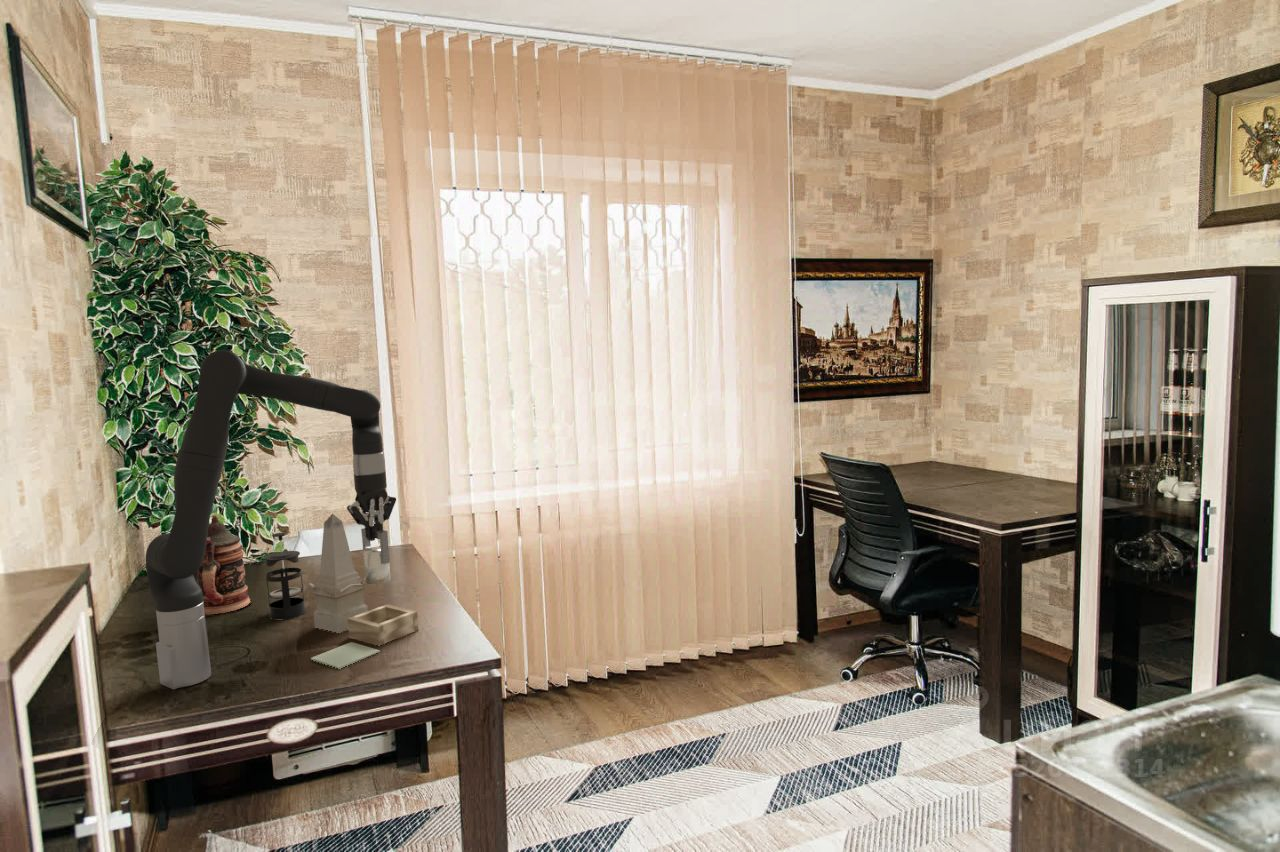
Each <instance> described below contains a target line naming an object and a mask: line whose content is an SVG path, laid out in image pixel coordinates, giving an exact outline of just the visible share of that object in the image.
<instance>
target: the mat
mask: <svg viewBox="0 0 1280 852" xmlns="http://www.w3.org/2000/svg"><path fill="white" fill-rule="evenodd" d="M378 652H380V653H381V651H380V650H379V649H376V648H372V647H370V646H366V645H362V644H359V643H355V642H352V641H350V642H348V643H345V644H343V645H340V646H338V647H335V648H333V649H330V650H327V651H326V652H322V653H321V654H317V655H315V656H312V657H310V660H311V661H312V660H313V661H312V662H315V661H316V662H315V663H318V662H319V663H318V664H321V663H322V664H321V665H324V664H325V665H324V666H327V665H329V666H328V667H330V666H332V667H331V668H333V667H335V668H334V669H336V668H338V669H337V670H339V669H340V670H342V669H341V668H343V667H345V666H347V667H349V666H348V665H350V664H352V665H354V664H353V663H355V662H357V661H359V660H361V659H364V658H366V657H368V656H371V655H373V654H376V653H378ZM378 654H379V653H378ZM376 655H377V654H376ZM371 657H372V656H371ZM366 659H367V658H366ZM364 660H365V659H364ZM359 662H360V661H359ZM357 663H358V662H357ZM355 664H356V663H355ZM350 666H351V665H350ZM345 668H346V667H345ZM343 669H344V668H343Z"/></svg>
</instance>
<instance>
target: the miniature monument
mask: <svg viewBox="0 0 1280 852" xmlns="http://www.w3.org/2000/svg"><path fill="white" fill-rule="evenodd" d="M321 543H322V544H321V555H320V556H321V559H320V572H319V575H317V577H316V579H317V580H316V581H315V584H314V583H308V593H309V594H311V595H314V597H315V606H316V607H315V608H316V609H315V610H314V611H313V622H314V629H316V628H319V629H318V630H321V629H324V630H323V631H325V630H328V631H327V632H329V631H332V632H331V633H334V632H336V633H335V634H338V633H340V634H342V633H344V632H343V631H345V632H347V631H349V630H348V618H350V617H353V616H356V615H359V614H362V613H364V612H367V611H369V607H368V606H369V605H367V604H365V599H364V598H365V597H364V596H365V595H364V589H366V588H368V587H369V586H370V584H367V583H366V582H365V577H364V578H362V577H361V576H360V575H359V572H358V571H356V570H355V565H354V563H353V562H354V561H353V557H352V553H351V550H350V546H349V542H348V538H347V535H346V530H345V527H344V522H343V520H342V519H340V518H339V517H337V516H336V515H335V514H334V513H331V514H330V516H329V517H328V518H327V519H326V520H325V521H324V522H323V533H322V542H321ZM346 630H347V631H346ZM341 632H342V633H341Z"/></svg>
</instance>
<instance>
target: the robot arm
mask: <svg viewBox="0 0 1280 852" xmlns="http://www.w3.org/2000/svg"><path fill="white" fill-rule="evenodd" d="M198 376H199V378H198V385H197V393H196V398H195V403H194V407H193V410H192V413H191V416H190V418H189V421H188V424H187V426H186V430H185V432H184V435H183V438H182V442H181V445H180V448H179V452H178V455H177V459H176V462H175V465H174V470H173V471H174V472H173V487H174V497H175V499H174V500H175V512H174V517H173V522H172V525H171V528H170V532H167V533H162V534H160V535H158V536H156V537H154V539H152V540H151V541H150V543H149V544H148V546H147V548H146V551H145V567H146V574H147V581H148V582H147V583H148V586H149V593H150V595H151V598H152V599H153V602H154V606H155V613H156V614H155V615H156V622H157V623H156V624H157V632H158V640H159V641H157V642H156V643H155V649H156V658H157V665H158V666H157V667H158V674H159V675H158V676H159V683H160V685H162V686H164V687H166V688H170V689H172V690H176V689H179V688H185V687H189V686H193V685H196V684H199V683H202V682H204V681H206V680H207V679H209V678H210V677H211V676H212V668H211V667H212V666H211V660H210V659H211V657H210V651H209V641H208V632H207V623H206V615H205V612H204V602H203V593H202V590H201V588H200V587H199V586H198V582H197V581H196V578H195V575H194V574H195V573H197V570H198V569H199V567H200V566H201V564H202V562H203V559H204V555H205V549H206V541H207V534H208V526H209V524H210V520H211V514H212V510H213V507H214V504H215V503H214V502H215V499H216V495H217V490H218V487H219V482H220V479H221V476H222V472H223V469H224V466H225V460H226V456H227V451H228V443H229V433H230V431H229V430H230V419H231V414H232V409H233V406H234V404H235V400H236V398H237V395H247V396H249V395H251V396H257V397H263V398H268V399H269V398H270V399H274V400H278V401H281V402H282V401H283V402H287V403H291V404H294V405H299V406H303V407H306V408H310V409H316V410H320V411H326V412H332V413H337V414H340V415H343V416H347V417H350V423H351V431H352V436H351V438H352V439H351V443H352V455H353V456H352V468H353V470H352V471H353V481H354V482H353V483H354V490H355V493H356V495H355V497H354V500H355V501H354V502H353V503H352V504H351V505H347V506H346V509H347V511H348V512H349V514H350V516H352V519H353V520H354V521H355V523H356V524H357V525H361V526H364V528H365V534H366V538H367V539H368V540H369V541H370V542H374V541H375V540H376V539H377V540H380V538H375V532H374V531H375V530H374V529H377V530H384V523H385V521H386V520H389V519H390V518H391V514H392V512H393V509H394V507H395V504H396V502H397V498H396V497H395V496H390V495H388V491H387V490H386V488H387V484H388V483H387V475H386V473H387V472H386V471H387V470H386V461H385V455H384V452H383V451H384V448H383V446H384V445H383V436H382V433H381V430H380V413H379V412H380V410H381V401H380V399H379V398H378V396H377V395H376V394H375V393H373V392H372V391H370V390H367V389H365V390H364V389H363V390H362V389H358V388H357V389H356V388H352V387H347V386H342V385H339V384H336V383H334V382H330V381H327V380H322V379H318V378H314V377H309V376H303V375H297V374H286V373H279V372H274V371H270V370H265V369H261V368H258V367H255V366H253V365H250V364H248V363H245V362H244V361H243V360H242V359H241V357H240V356H239V355H238V354H236V353H234V352H233V351H231V350H227V349H219V350H215V351H212V352H211V353H209V354H208V355H207V356H205V357H204V358H203V360H202V362H201V364H200V368H199V375H198Z"/></svg>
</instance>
